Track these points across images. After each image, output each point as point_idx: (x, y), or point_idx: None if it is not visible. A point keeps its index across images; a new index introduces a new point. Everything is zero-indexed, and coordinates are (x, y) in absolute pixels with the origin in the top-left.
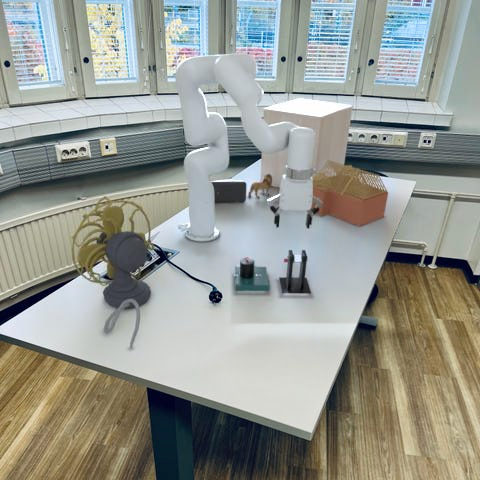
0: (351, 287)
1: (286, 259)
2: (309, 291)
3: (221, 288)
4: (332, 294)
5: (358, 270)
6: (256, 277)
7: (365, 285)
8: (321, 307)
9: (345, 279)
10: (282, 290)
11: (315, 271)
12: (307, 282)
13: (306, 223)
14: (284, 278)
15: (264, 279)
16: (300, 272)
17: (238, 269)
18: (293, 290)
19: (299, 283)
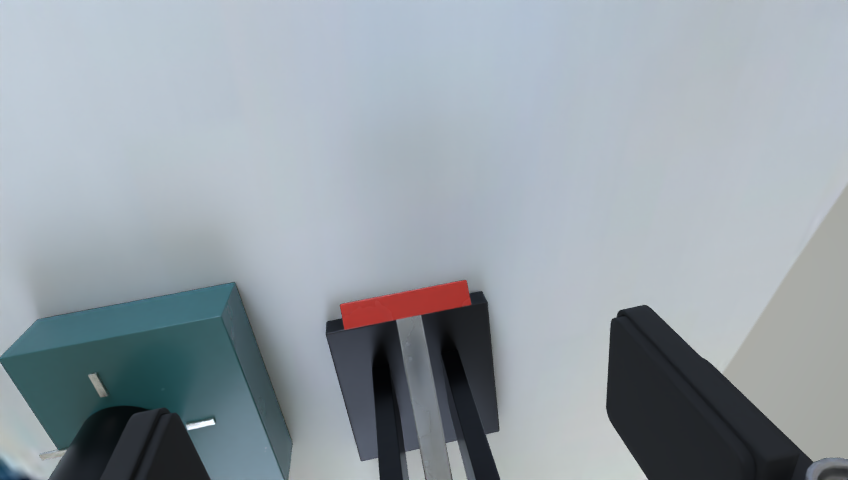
0: (701, 304)
1: (361, 325)
2: (492, 419)
3: (28, 453)
4: (595, 378)
5: (812, 111)
6: (197, 442)
7: (776, 272)
8: (530, 470)
9: (698, 233)
10: (360, 441)
11: (547, 173)
12: (488, 348)
13: (630, 382)
14: (360, 338)
15: (250, 448)
16: (459, 430)
17: (41, 388)
18: (415, 429)
19: (446, 384)
